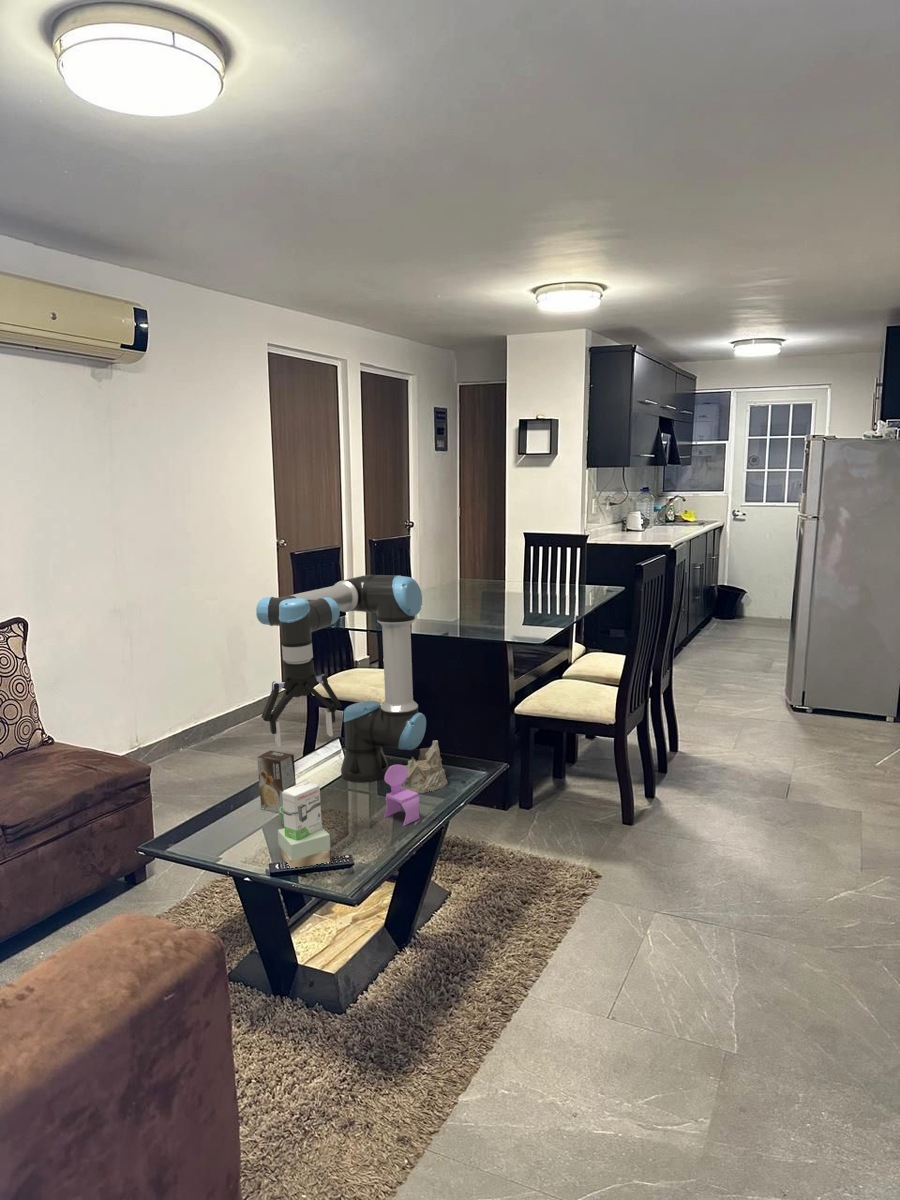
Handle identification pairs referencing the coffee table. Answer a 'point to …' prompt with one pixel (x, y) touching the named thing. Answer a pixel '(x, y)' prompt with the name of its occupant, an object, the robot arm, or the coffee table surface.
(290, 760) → the coffee box
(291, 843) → the top slab
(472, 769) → the coffee table surface
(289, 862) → the bottom slab
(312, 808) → the ink box
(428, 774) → the ceramic cottage
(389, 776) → the toy chair
